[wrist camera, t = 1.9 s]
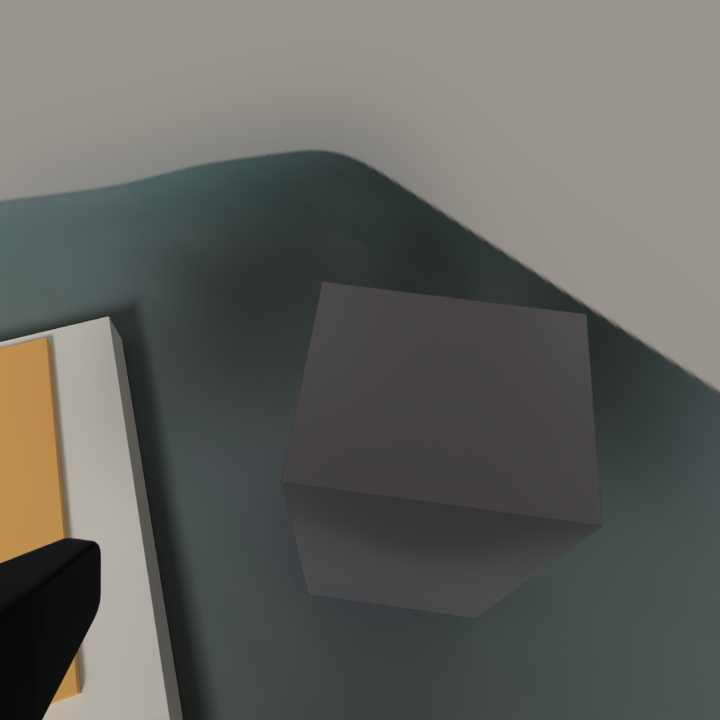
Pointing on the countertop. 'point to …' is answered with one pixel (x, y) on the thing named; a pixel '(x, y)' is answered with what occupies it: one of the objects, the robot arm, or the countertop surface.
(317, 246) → the countertop surface
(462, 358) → the chute block
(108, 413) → the white plate with inlay
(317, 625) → the countertop surface
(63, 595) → the robot arm
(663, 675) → the countertop surface
